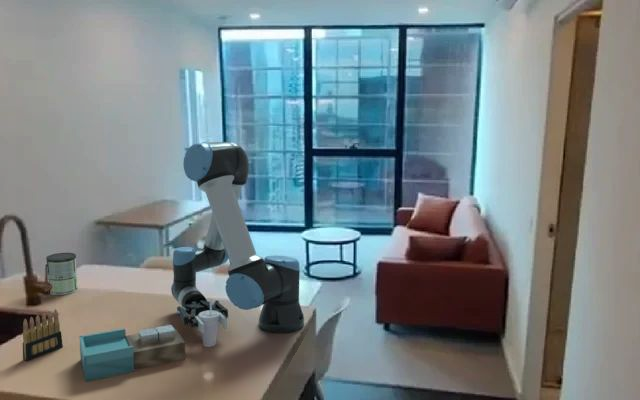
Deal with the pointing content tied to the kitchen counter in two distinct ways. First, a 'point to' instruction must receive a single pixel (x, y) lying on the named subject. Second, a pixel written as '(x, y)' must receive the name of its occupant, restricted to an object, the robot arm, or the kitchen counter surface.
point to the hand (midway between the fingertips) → (214, 326)
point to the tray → (105, 354)
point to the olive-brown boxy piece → (156, 351)
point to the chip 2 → (165, 332)
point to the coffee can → (62, 273)
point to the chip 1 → (148, 336)
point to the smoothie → (209, 326)
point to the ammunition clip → (41, 336)
